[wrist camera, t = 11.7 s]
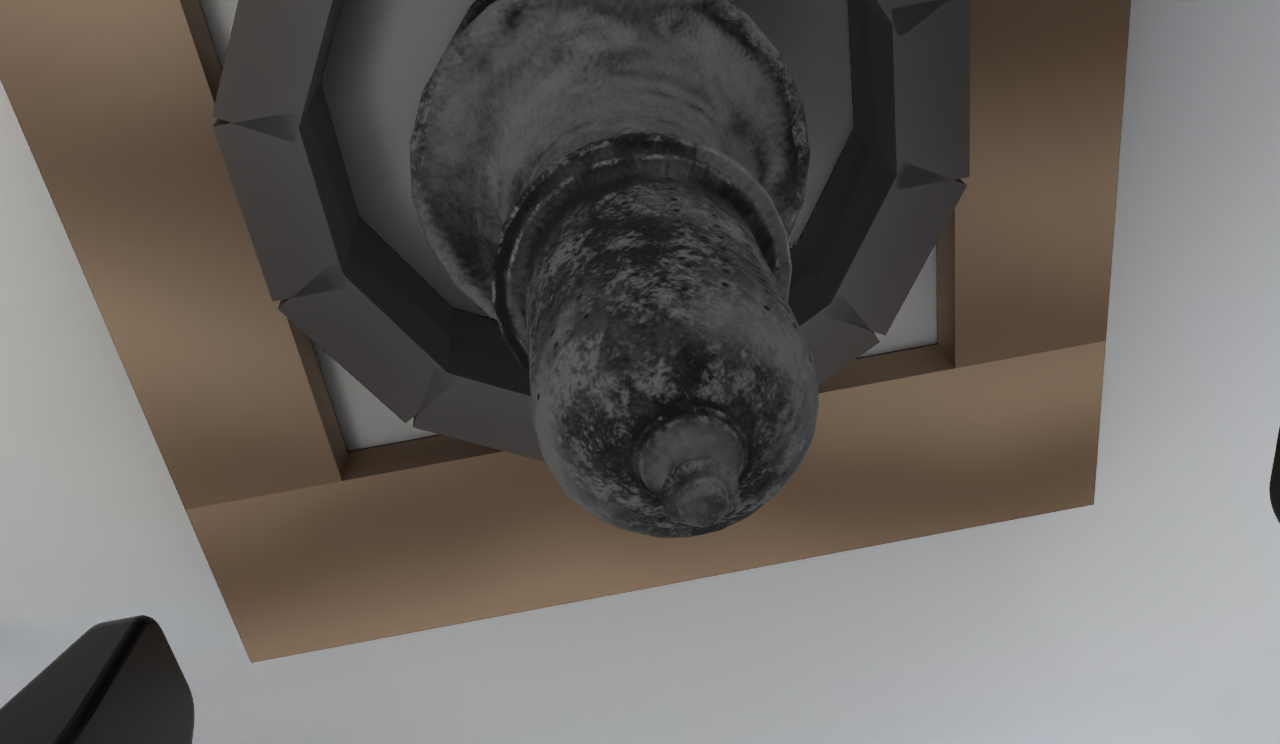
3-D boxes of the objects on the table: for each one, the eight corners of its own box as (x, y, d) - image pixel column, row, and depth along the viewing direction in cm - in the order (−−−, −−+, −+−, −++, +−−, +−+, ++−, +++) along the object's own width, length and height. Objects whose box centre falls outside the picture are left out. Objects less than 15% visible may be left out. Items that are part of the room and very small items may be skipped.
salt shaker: (757, -91, 18) (1099, 138, 8) (763, 242, 21) (1020, 726, 11) (393, -58, 18) (262, 229, 8) (450, 277, 21) (410, 812, 11)
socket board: (1072, 477, 25) (1128, 548, 23) (259, 629, 24) (237, 716, 22) (1148, -747, 15) (1259, -829, 13) (-226, -535, 14) (-351, -582, 12)
